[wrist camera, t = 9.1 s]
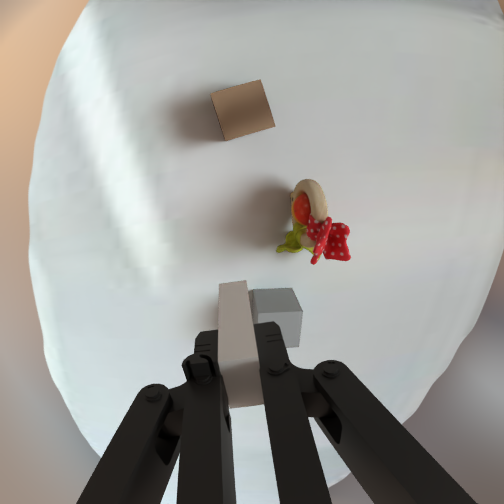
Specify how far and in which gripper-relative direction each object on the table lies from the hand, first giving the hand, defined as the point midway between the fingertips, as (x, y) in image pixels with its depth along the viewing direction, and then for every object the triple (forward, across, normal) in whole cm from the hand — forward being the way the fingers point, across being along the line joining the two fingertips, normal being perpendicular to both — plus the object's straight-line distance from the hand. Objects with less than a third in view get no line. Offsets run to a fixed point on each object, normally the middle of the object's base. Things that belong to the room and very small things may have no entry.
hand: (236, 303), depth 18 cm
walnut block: (+21, +3, +11) cm, 24 cm away
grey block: (+20, +4, -13) cm, 24 cm away
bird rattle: (+21, +8, -1) cm, 22 cm away
